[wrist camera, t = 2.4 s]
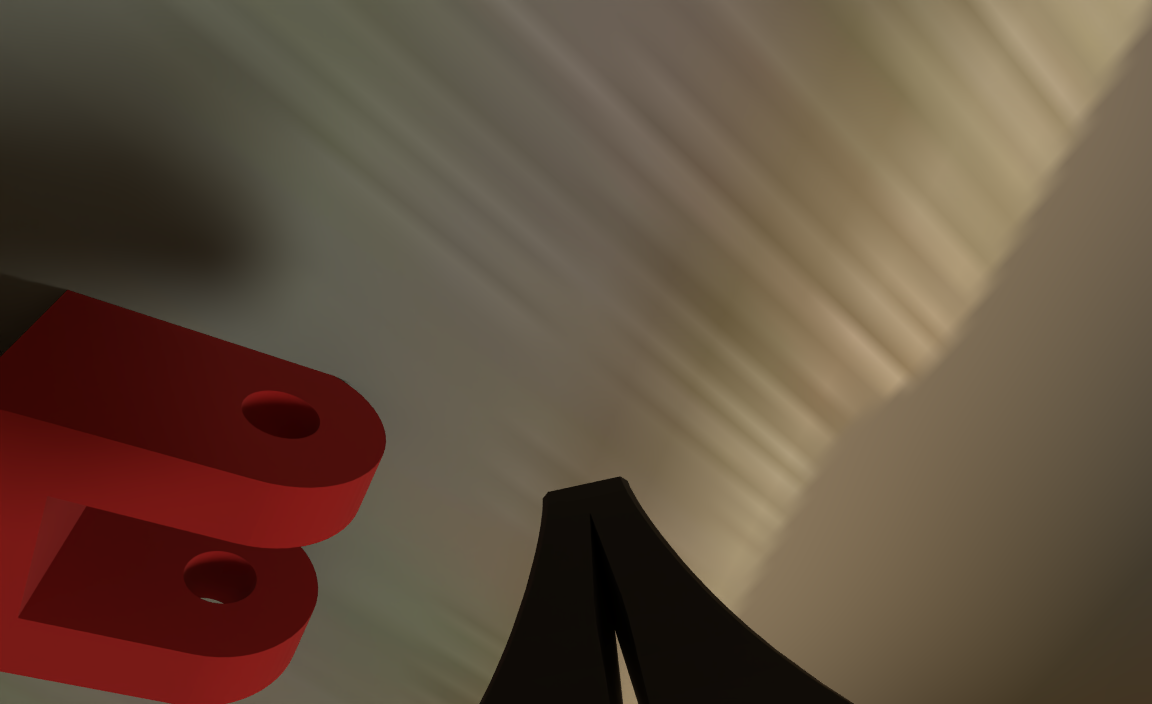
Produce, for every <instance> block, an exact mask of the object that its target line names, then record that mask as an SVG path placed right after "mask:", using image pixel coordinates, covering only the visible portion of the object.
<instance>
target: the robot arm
mask: <svg viewBox="0 0 1152 704" xmlns="http://www.w3.org/2000/svg"><path fill="white" fill-rule="evenodd" d="M615 631H616V634H617V638H618V641H619V644H620V647H621V650H622V654H623V657H624V660H625V663H626V666H627V669H628V673H629V676H630V679H631V682H632V685H633V688H634V692H635V695H636V698H637V701H638V704H854V703H852V702H850V701H849V700H847V699H846V698H844V697H843V696H841V695H840V694H838V693H837V692H835V691H833V690H832V689H830V688H829V687H827V686H826V685H824V684H823V683H821V682H820V681H818V680H817V679H816V678H814V677H813V676H812V675H810V674H809V673H807V672H806V671H805V670H803V669H802V668H800V667H799V666H798V665H796V664H795V663H794V662H792V661H791V660H789V659H788V658H787V657H786V656H784V655H783V654H781V653H780V652H779V651H777V650H776V649H775V648H773V647H772V646H771V645H770V644H769V643H767V642H766V641H765V640H764V639H763V638H761V637H760V636H759V635H758V634H756V633H755V632H754V631H753V630H752V629H751V628H749V627H748V626H747V625H746V624H745V623H744V622H743V621H742V620H741V619H739V618H738V617H737V616H736V615H735V614H734V613H733V612H732V611H731V610H729V609H728V608H727V607H726V606H725V605H724V604H723V603H722V602H721V601H720V600H719V599H718V598H717V597H716V596H715V595H714V594H713V593H712V592H711V591H710V590H709V589H708V588H707V587H706V586H705V585H704V584H703V582H702V581H701V580H700V579H699V578H698V577H697V576H696V575H695V574H694V573H693V572H692V571H691V570H690V568H689V567H688V566H687V565H686V564H685V563H684V562H683V561H682V559H681V558H680V557H679V556H678V554H677V553H676V552H675V551H674V550H673V548H672V547H671V546H670V545H669V544H668V542H667V541H666V540H665V539H664V537H663V536H662V535H661V534H660V532H659V531H658V530H657V528H656V527H655V526H654V524H653V523H652V521H651V520H650V518H649V517H648V516H647V514H646V513H645V511H644V510H643V508H642V507H641V505H640V504H639V502H638V500H637V499H636V497H635V495H634V493H633V491H632V490H631V488H630V486H629V483H628V481H627V480H625V479H624V478H622V477H615V478H611V479H606V480H601V481H597V482H592V483H588V484H583V485H578V486H574V487H569V488H564V489H560V490H555V491H551V492H548V493H547V494H546V495H545V497H544V498H543V510H542V519H541V527H540V532H539V538H538V543H537V548H536V552H535V556H534V560H533V564H532V568H531V572H530V575H529V579H528V583H527V587H526V590H525V593H524V596H523V599H522V602H521V605H520V608H519V611H518V614H517V617H516V620H515V623H514V626H513V629H512V632H511V634H510V637H509V639H508V642H507V644H506V647H505V650H504V652H503V654H502V657H501V659H500V661H499V664H498V666H497V668H496V670H495V673H494V675H493V677H492V679H491V682H490V684H489V686H488V688H487V690H486V692H485V694H484V696H483V698H482V700H481V702H480V704H623V699H622V690H621V681H620V672H619V662H618V653H617V644H616V635H615Z"/></svg>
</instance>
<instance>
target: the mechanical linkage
mask: <svg viewBox="0 0 1152 704" xmlns="http://www.w3.org/2000/svg"><path fill="white" fill-rule="evenodd" d="M385 445H386V435H385V431H384V427H383V424H382V422H381V420H380V418H379V416H378V414H377V413H376V411H375V410H374V408H373V407H372V406H371V405H370V404H369V402H368V401H367V400H366V399H365V398H364V397H363V396H362V395H360V394H359V393H358V392H357V391H356V390H355V389H353V388H352V387H351V386H349V385H348V384H346V383H345V382H343V381H342V380H340V379H339V378H337V377H335V376H332V375H329V374H326V373H323V372H320V371H317V370H314V369H311V368H308V367H305V366H301V365H298V364H295V363H292V362H289V361H286V360H283V359H280V358H277V357H274V356H271V355H267V354H264V353H261V352H258V351H255V350H252V349H249V348H246V347H243V346H240V345H237V344H234V343H230V342H227V341H224V340H221V339H218V338H215V337H212V336H209V335H206V334H203V333H200V332H196V331H193V330H190V329H187V328H184V327H181V326H178V325H175V324H172V323H169V322H166V321H162V320H159V319H156V318H153V317H150V316H147V315H144V314H141V313H138V312H135V311H132V310H129V309H125V308H122V307H119V306H116V305H113V304H110V303H107V302H104V301H101V300H98V299H95V298H91V297H88V296H85V295H82V294H79V293H76V292H73V291H70V290H67V291H66V292H65V293H64V294H63V295H62V296H61V297H60V298H59V299H58V300H57V301H56V302H55V303H54V304H53V305H52V306H51V307H50V308H49V309H48V310H47V311H46V312H45V313H44V314H43V315H42V316H41V317H40V318H39V319H38V320H37V321H36V322H35V323H34V324H33V325H32V326H31V327H30V328H29V329H28V330H27V331H26V332H25V333H24V334H23V335H22V336H21V337H20V338H19V339H18V340H17V341H16V342H15V343H14V344H13V345H12V346H11V347H10V348H9V349H8V350H7V351H6V352H5V353H4V354H3V355H2V356H1V357H0V671H1V672H7V673H12V674H17V675H22V676H28V677H33V678H38V679H44V680H49V681H54V682H60V683H65V684H70V685H76V686H81V687H86V688H92V689H97V690H102V691H108V692H113V693H118V694H124V695H129V696H134V697H140V698H145V699H150V700H156V701H161V702H166V703H171V704H226V703H231V702H235V701H238V700H241V699H244V698H246V697H249V696H251V695H253V694H255V693H257V692H259V691H261V690H262V689H264V688H265V687H267V686H268V685H270V684H271V683H272V682H273V681H274V680H276V679H277V678H278V677H279V676H280V675H281V674H282V672H283V671H284V670H285V669H286V667H287V666H288V664H289V663H290V661H291V659H292V657H293V655H294V653H295V651H296V648H297V646H298V644H299V642H300V639H301V637H302V635H303V633H304V630H305V628H306V626H307V624H308V621H309V619H310V617H311V615H312V613H313V610H314V607H315V605H316V601H317V596H318V582H317V577H316V572H315V570H314V567H313V565H312V563H311V561H310V559H309V557H308V556H307V554H306V553H305V551H304V550H303V549H302V548H301V546H306V545H310V544H314V543H317V542H320V541H323V540H325V539H328V538H330V537H332V536H334V535H335V534H337V533H339V532H340V531H341V530H343V529H344V528H345V527H346V526H347V525H348V524H349V523H350V522H351V521H352V520H353V518H354V517H355V515H356V513H357V512H358V510H359V507H360V505H361V503H362V501H363V498H364V496H365V494H366V492H367V489H368V487H369V485H370V483H371V480H372V478H373V476H374V474H375V471H376V469H377V467H378V465H379V463H380V460H381V458H382V456H383V453H384V450H385ZM201 598H210V599H214V600H217V601H220V602H222V603H224V604H218V603H212V602H208V601H205V600H203V599H201Z"/></svg>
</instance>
